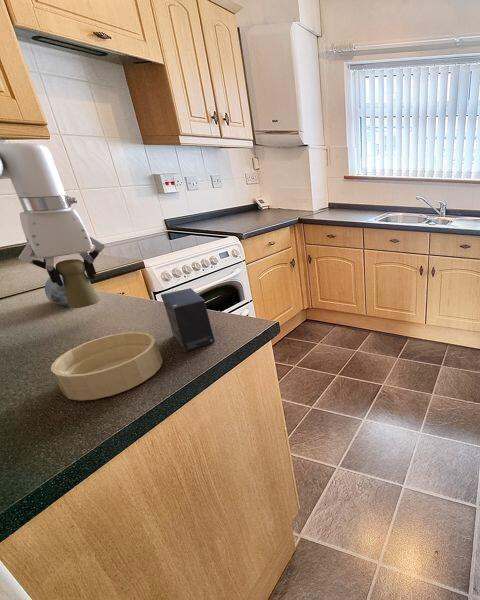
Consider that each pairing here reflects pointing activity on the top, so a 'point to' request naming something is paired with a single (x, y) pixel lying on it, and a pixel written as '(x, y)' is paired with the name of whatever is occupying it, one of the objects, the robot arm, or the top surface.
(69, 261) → the cork
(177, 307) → the small box
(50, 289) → the light blue rounded lump
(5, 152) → the robot arm
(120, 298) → the top surface
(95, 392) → the bowl
